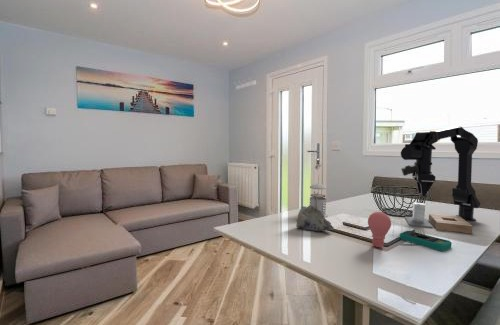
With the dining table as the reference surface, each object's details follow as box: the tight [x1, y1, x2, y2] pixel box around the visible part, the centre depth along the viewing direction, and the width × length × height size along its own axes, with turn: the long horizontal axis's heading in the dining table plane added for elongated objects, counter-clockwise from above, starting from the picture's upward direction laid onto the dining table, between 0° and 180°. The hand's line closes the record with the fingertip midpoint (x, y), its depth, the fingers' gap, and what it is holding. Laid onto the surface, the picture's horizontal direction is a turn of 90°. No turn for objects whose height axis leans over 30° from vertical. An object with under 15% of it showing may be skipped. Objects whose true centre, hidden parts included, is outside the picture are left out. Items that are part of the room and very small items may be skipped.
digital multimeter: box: [399, 230, 453, 253], centre depth 98 cm, size 7×15×3 cm, turn 33°
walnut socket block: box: [428, 213, 473, 234], centre depth 119 cm, size 16×12×3 cm
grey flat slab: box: [404, 216, 434, 229], centre depth 124 cm, size 14×9×1 cm, turn 157°
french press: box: [309, 163, 328, 218], centre depth 133 cm, size 10×12×25 cm
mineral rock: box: [296, 205, 334, 232], centre depth 110 cm, size 13×11×10 cm
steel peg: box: [412, 202, 426, 223], centre depth 123 cm, size 4×4×8 cm
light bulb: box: [367, 211, 392, 248], centre depth 93 cm, size 7×7×12 cm
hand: (421, 194), depth 123 cm, fingers open, 9 cm apart
